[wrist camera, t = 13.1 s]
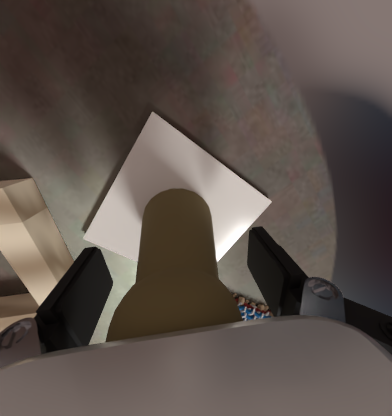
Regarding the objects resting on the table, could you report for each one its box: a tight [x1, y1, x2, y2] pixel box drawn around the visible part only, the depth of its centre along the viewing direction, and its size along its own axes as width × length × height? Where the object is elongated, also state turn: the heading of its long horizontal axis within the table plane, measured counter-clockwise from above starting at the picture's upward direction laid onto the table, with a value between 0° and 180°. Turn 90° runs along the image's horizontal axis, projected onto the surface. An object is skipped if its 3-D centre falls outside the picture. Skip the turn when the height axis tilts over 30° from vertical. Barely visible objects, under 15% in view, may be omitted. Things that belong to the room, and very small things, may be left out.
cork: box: [106, 188, 243, 342], centre depth 10 cm, size 6×6×11 cm
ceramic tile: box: [83, 111, 272, 262], centre depth 15 cm, size 12×12×1 cm
